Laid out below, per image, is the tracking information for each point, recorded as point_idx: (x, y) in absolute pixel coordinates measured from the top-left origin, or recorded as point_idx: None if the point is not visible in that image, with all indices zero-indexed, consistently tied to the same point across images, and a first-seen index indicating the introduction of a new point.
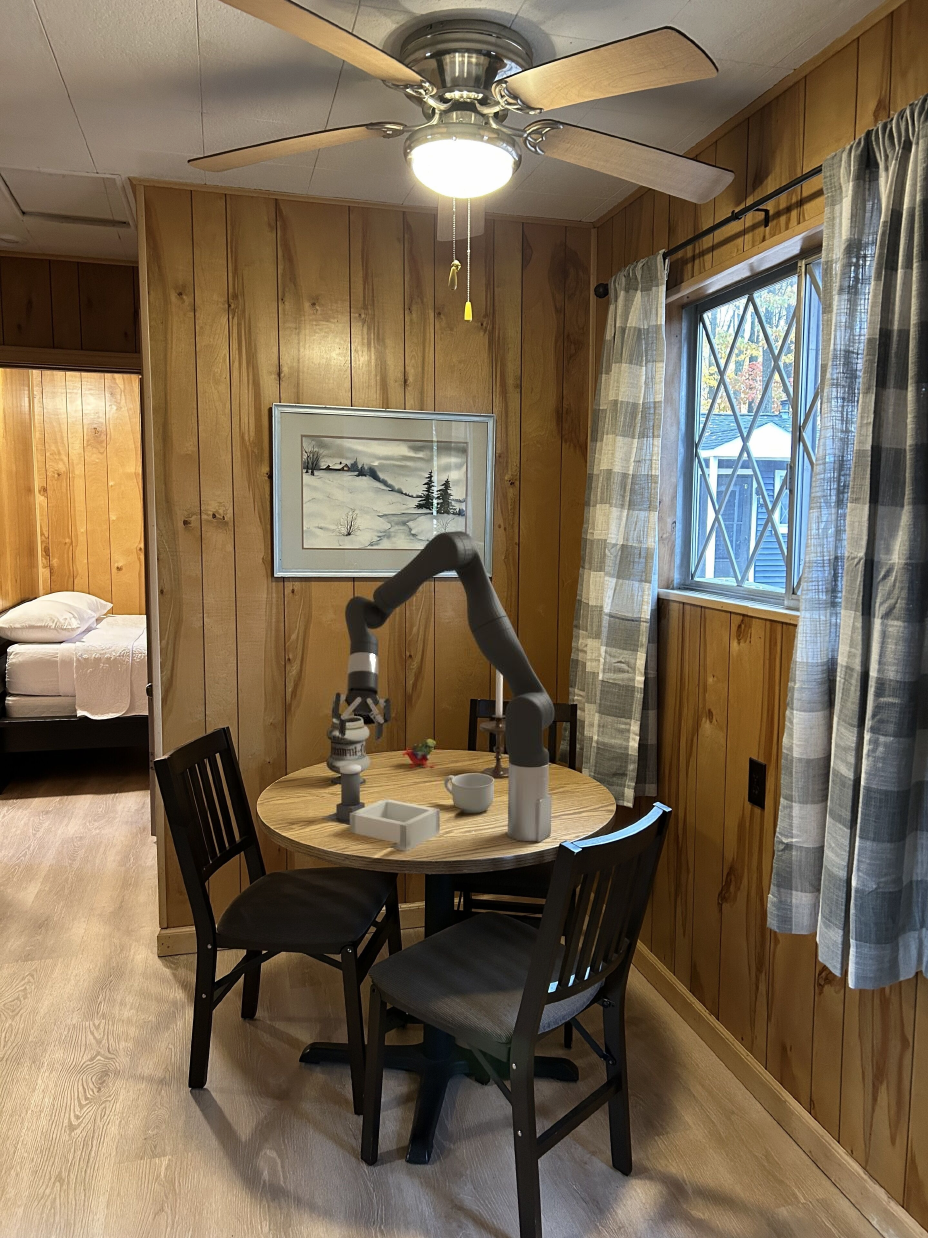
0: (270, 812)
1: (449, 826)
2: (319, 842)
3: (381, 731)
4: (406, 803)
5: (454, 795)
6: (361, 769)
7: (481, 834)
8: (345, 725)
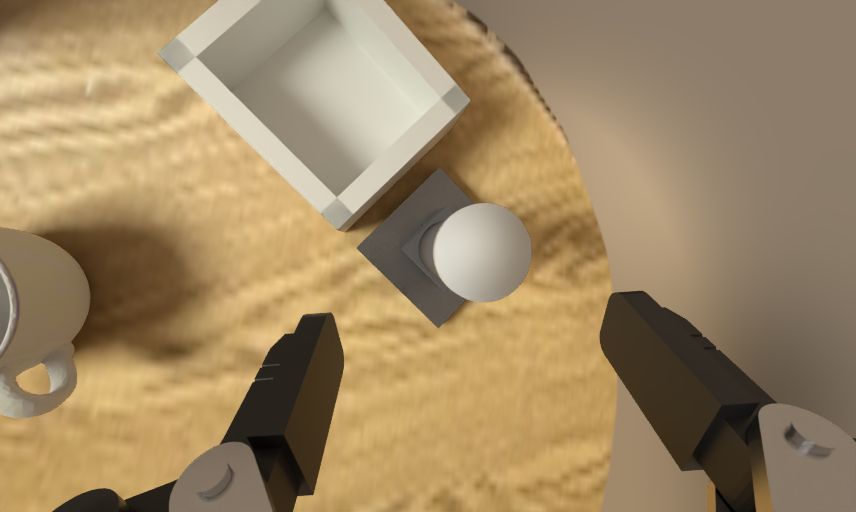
0: (611, 368)
1: (158, 152)
2: (524, 121)
3: (268, 373)
4: (270, 156)
5: (59, 283)
6: None
7: (68, 53)
8: (678, 351)
